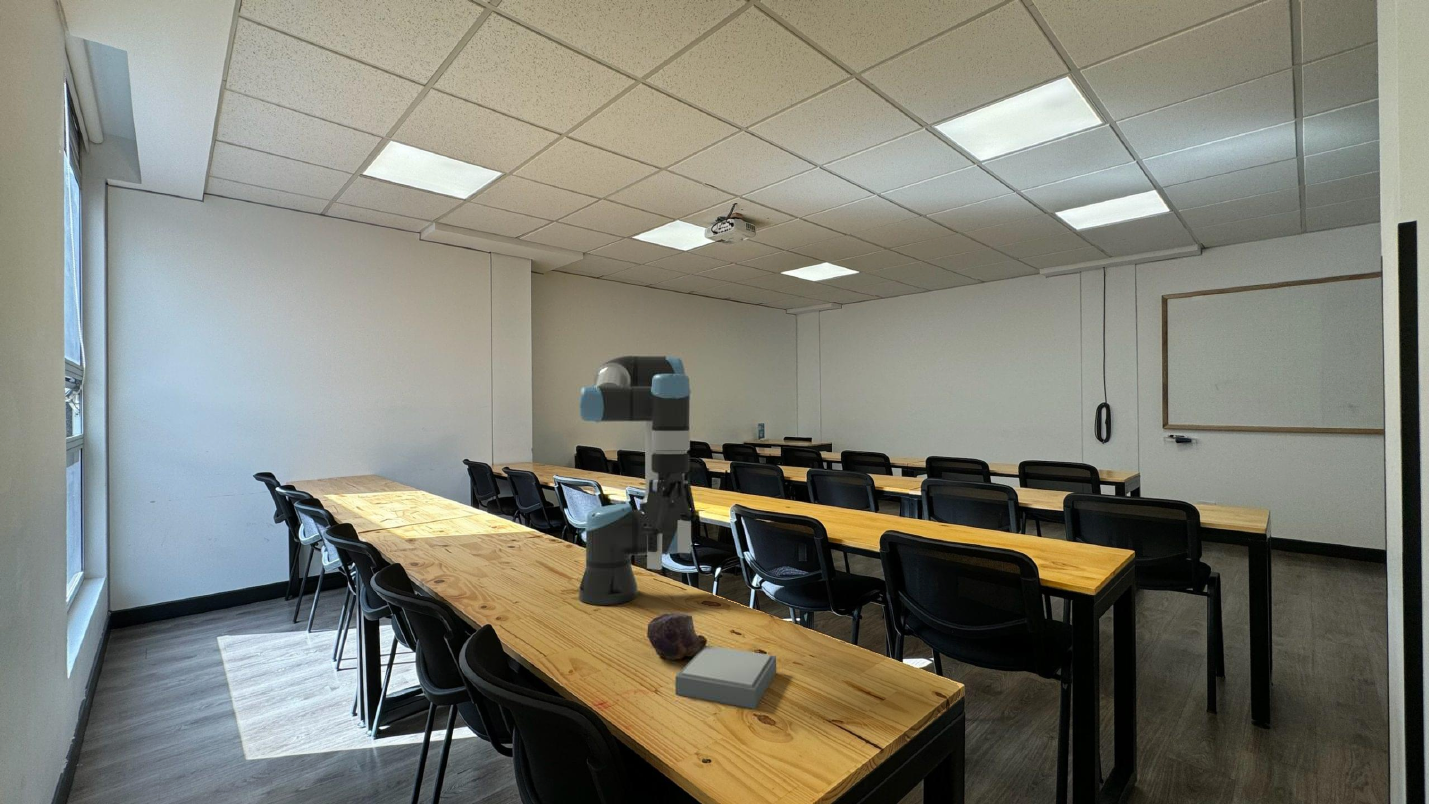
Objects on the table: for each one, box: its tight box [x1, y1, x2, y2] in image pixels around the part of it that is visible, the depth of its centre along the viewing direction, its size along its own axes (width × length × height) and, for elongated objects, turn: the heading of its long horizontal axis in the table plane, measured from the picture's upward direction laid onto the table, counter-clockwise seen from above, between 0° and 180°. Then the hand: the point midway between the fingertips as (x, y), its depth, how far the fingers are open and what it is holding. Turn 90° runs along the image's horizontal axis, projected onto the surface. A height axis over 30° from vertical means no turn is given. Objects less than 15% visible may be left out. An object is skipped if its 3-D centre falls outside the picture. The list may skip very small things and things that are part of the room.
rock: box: [646, 612, 708, 661], centre depth 113 cm, size 12×9×10 cm
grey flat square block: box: [674, 644, 777, 710], centre depth 102 cm, size 14×14×3 cm
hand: (670, 560), depth 113 cm, fingers open, 13 cm apart
